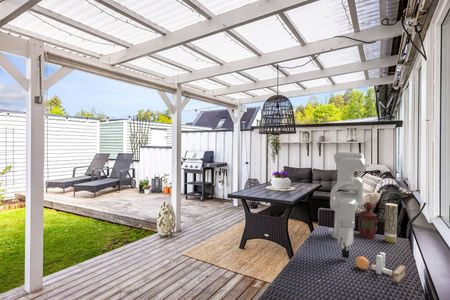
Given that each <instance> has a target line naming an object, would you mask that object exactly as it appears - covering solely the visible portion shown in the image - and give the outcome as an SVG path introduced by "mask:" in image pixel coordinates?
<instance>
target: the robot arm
mask: <svg viewBox="0 0 450 300" xmlns="http://www.w3.org/2000/svg"><path fill="white" fill-rule="evenodd" d="M333 160H334V163H335V166H336V169H337V173H336V175H337V177H336V184H334V185H333V186H332V188H331V189H330V190H331V191H330V194H329V195H330V199H329V206H330V209H331V210H333V211H334V223H333V225H334V228H331V227H329V228H328V232H329V233H331V237H332V238H334V239H335V240H337V245H340V249H341V257H342V258H344V259H349V258H350V248H351V245H352V244H353V243H354V229H355V224H356V223H355V221H356V219H355V217H356V216H355V215H356V211H357V210H358V208H361V207H362V205H363V202H364V201H363V197H364V181H363V179H362V178H361V177H360V176H355V173H364V172H365V170H366V160H365V156H364V154H363V153H361V152H352V151H351V152H349V151H347V152H346V151H339V152H336V153H334V155H333ZM339 190H341V191H339Z"/></svg>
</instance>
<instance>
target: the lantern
mask: <svg viewBox="0 0 450 300" xmlns="http://www.w3.org/2000/svg"><path fill="white" fill-rule="evenodd" d="M368 195H369V199H371V198H372V194H371V193H367V194H366V195H365V198H366V200H368ZM363 208H364V209H365V210H363V211H359V216H358V218H357V219H358V223H357V224H358V225H357V226H358V230H359V232H358V236H360V237H361V238H364V239H371V240H372V239H373V240H374V239H375V238H376V232H377V230H378V226H377V223H378V219H377V218H376V217H377V216H378V215H377V213H374V212H373V211H372V209H373V204H372V202H371V201H365V202H364V204H363Z"/></svg>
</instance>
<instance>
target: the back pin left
mask: <svg viewBox="0 0 450 300" xmlns="http://www.w3.org/2000/svg"><path fill="white" fill-rule="evenodd" d="M379 255H381V256H382V268H385V269H386V253H385V252H382V251H380V252H379Z"/></svg>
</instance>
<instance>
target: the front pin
mask: <svg viewBox="0 0 450 300" xmlns="http://www.w3.org/2000/svg"><path fill="white" fill-rule="evenodd" d="M371 270H373V271H375V272H376V264H373V263H372V264H371ZM382 274H385V275H387V276H390V277H391V276H393V270H391V269H388V268H386V267H385V268H382Z"/></svg>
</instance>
